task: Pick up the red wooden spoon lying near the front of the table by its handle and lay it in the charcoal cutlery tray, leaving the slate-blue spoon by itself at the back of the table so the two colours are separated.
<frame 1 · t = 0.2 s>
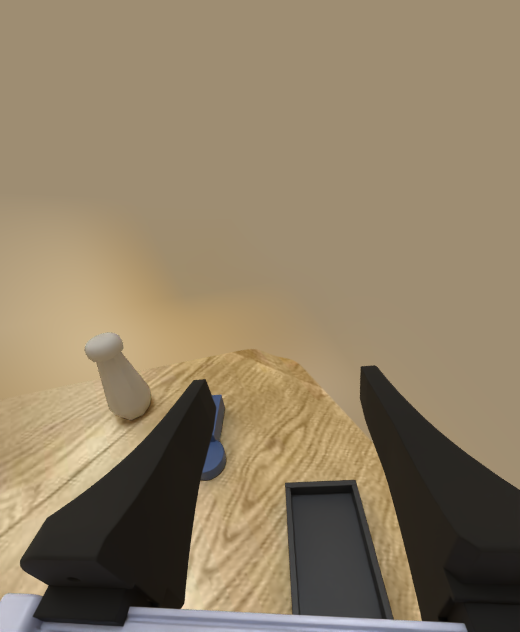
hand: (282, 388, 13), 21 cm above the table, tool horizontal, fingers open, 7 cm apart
salt shaker: (136, 409, 41), on the table
blue spoon: (213, 439, 35), on the table
tray: (332, 570, 23), on the table
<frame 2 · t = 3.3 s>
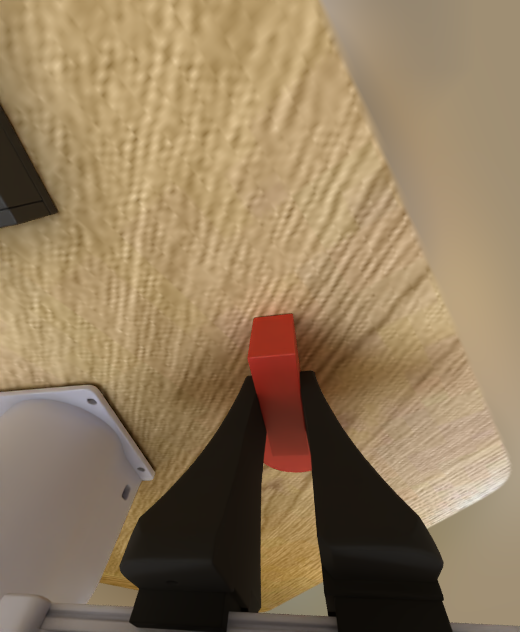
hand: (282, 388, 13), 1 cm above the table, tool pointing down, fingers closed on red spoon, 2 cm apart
red spoon: (286, 392, 15), on the table, touching gripper
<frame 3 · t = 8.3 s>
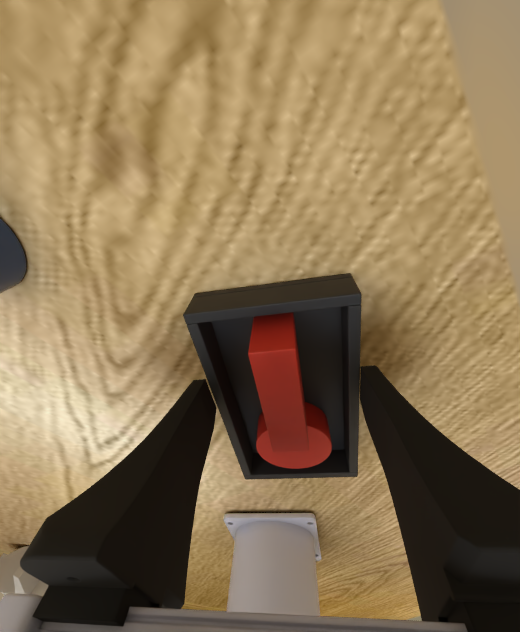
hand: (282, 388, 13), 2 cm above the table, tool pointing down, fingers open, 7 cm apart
red spoon: (286, 388, 15), resting on tray
tray: (286, 384, 15), on the table
bunny figurine: (76, 555, 34), on the table
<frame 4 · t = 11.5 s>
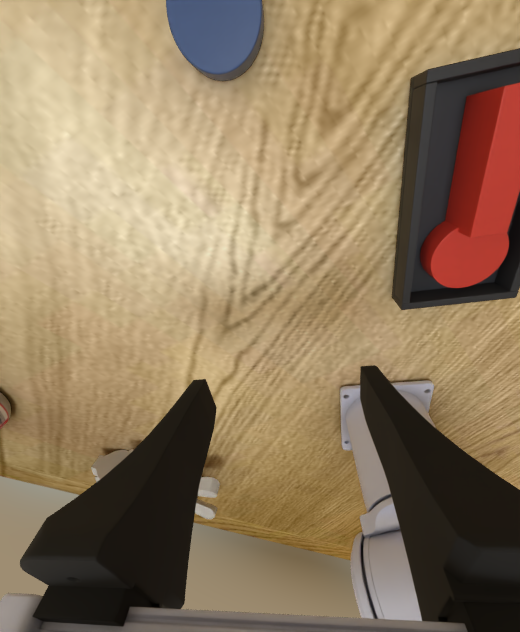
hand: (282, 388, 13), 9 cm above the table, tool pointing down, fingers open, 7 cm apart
red spoon: (464, 198, 16), resting on tray
tray: (460, 198, 16), on the table
bunny figurine: (164, 463, 35), on the table
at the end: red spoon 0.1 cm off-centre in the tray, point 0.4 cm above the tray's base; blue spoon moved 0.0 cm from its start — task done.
